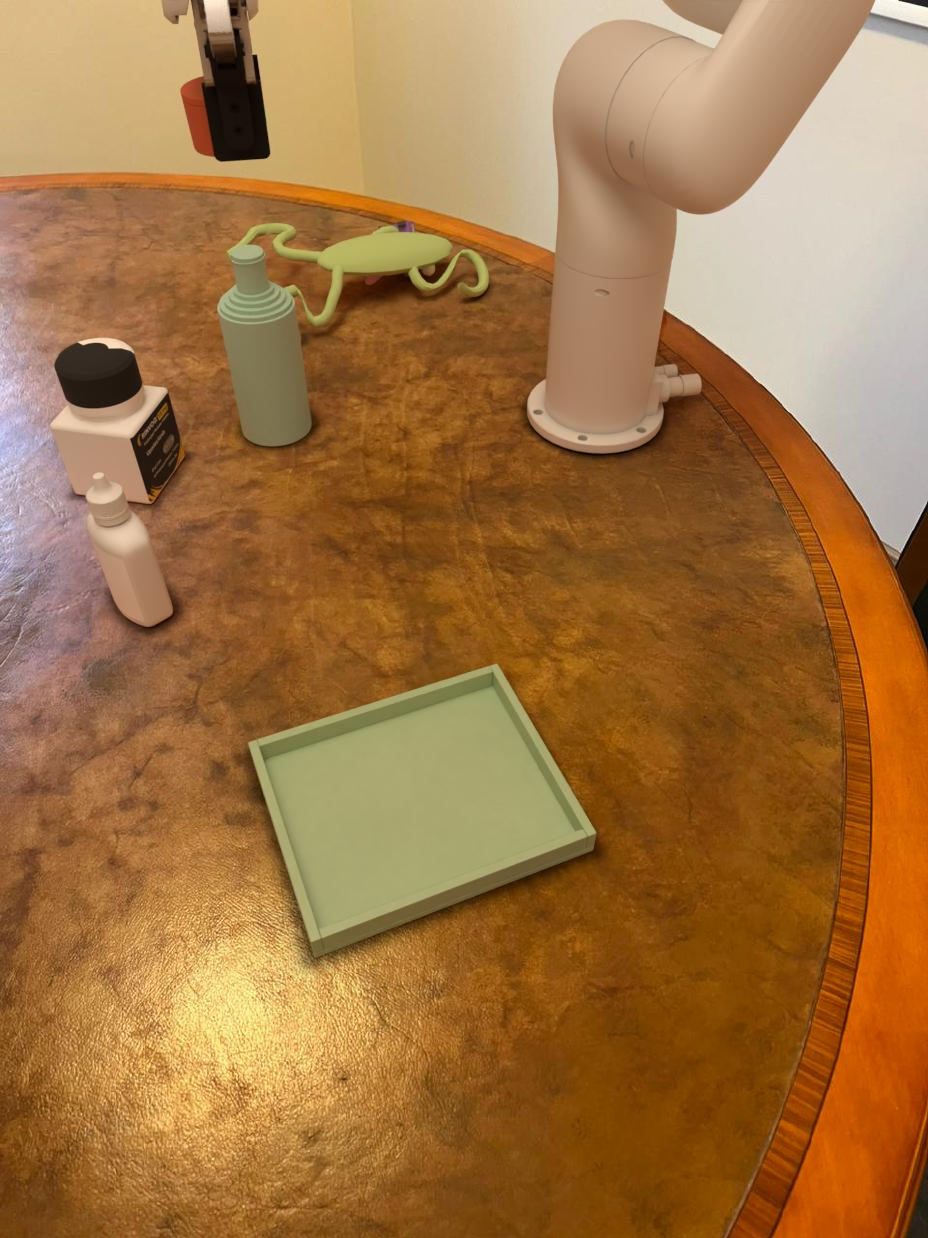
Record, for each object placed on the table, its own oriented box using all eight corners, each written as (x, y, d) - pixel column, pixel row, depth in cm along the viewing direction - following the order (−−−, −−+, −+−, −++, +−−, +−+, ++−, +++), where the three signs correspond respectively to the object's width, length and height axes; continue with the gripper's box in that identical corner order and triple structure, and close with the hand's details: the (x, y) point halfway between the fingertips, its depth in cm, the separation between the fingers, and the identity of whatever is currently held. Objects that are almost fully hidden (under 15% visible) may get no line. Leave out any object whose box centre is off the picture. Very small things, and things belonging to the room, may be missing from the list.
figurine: (223, 274, 107) (214, 225, 103) (436, 231, 115) (435, 184, 111) (271, 349, 95) (262, 297, 91) (503, 296, 103) (505, 246, 99)
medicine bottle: (152, 506, 78) (113, 380, 69) (74, 495, 79) (25, 369, 70) (187, 456, 82) (154, 332, 74) (112, 446, 83) (71, 323, 75)
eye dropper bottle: (113, 636, 67) (61, 507, 59) (113, 584, 71) (65, 455, 62) (175, 625, 68) (133, 496, 59) (172, 574, 72) (132, 446, 63)
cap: (179, 150, 55) (164, 92, 53) (221, 125, 57) (208, 69, 55) (233, 161, 54) (220, 103, 51) (273, 135, 56) (263, 78, 54)
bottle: (307, 403, 88) (283, 230, 76) (315, 441, 84) (291, 265, 72) (239, 411, 87) (204, 237, 75) (244, 450, 83) (207, 273, 71)
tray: (496, 681, 64) (497, 662, 63) (593, 850, 55) (597, 833, 54) (252, 760, 60) (247, 742, 58) (314, 958, 51) (310, 942, 49)
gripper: (103, -290, 48) (180, 102, 61) (71, -272, 36) (174, 204, 49) (251, -290, 49) (296, 95, 62) (265, -273, 37) (316, 194, 50)
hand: (241, 140), depth 55 cm, fingers closed on cap, 4 cm apart
